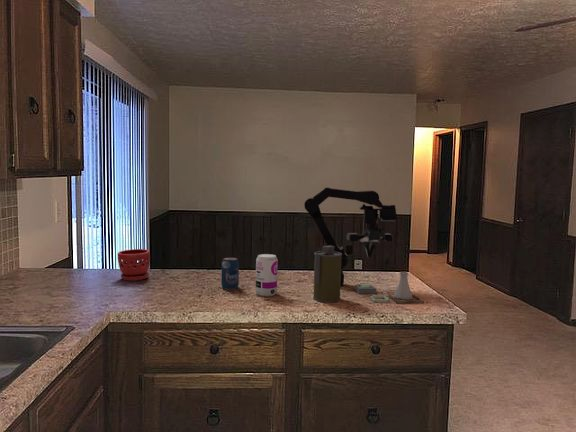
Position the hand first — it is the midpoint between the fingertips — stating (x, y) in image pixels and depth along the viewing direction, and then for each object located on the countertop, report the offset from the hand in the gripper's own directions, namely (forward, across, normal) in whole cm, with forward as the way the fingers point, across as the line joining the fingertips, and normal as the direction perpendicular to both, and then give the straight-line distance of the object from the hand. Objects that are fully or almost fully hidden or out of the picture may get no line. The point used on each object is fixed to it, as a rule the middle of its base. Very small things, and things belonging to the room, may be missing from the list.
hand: (368, 257), depth 203 cm
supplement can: (+12, -44, -13) cm, 48 cm away
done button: (+12, -4, -10) cm, 16 cm away
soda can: (+12, -58, -3) cm, 59 cm away
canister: (+12, -22, -21) cm, 33 cm away
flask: (+12, +8, -20) cm, 25 cm away
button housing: (+12, -4, -10) cm, 16 cm away
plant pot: (+12, -99, +14) cm, 101 cm away
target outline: (+12, +8, -23) cm, 27 cm away
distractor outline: (+12, -2, -23) cm, 26 cm away
